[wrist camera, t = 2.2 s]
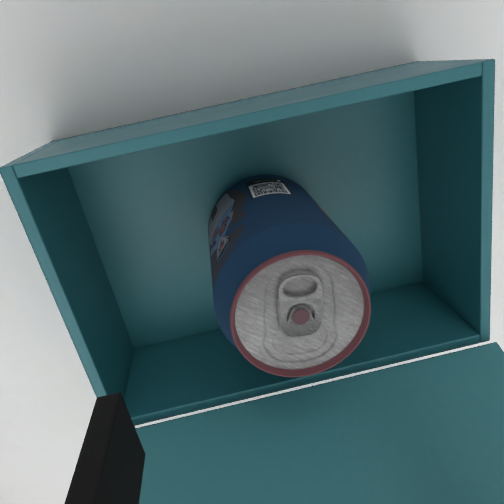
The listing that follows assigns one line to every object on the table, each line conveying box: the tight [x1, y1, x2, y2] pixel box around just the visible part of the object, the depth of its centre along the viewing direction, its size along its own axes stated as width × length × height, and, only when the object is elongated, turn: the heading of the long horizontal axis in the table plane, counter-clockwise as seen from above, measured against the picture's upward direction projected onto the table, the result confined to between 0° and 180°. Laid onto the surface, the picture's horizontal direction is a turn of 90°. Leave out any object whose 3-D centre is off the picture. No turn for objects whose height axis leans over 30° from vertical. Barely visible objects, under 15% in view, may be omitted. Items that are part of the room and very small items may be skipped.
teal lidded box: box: [0, 59, 495, 426], centre depth 26 cm, size 15×22×8 cm
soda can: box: [208, 174, 371, 377], centre depth 23 cm, size 7×7×12 cm
